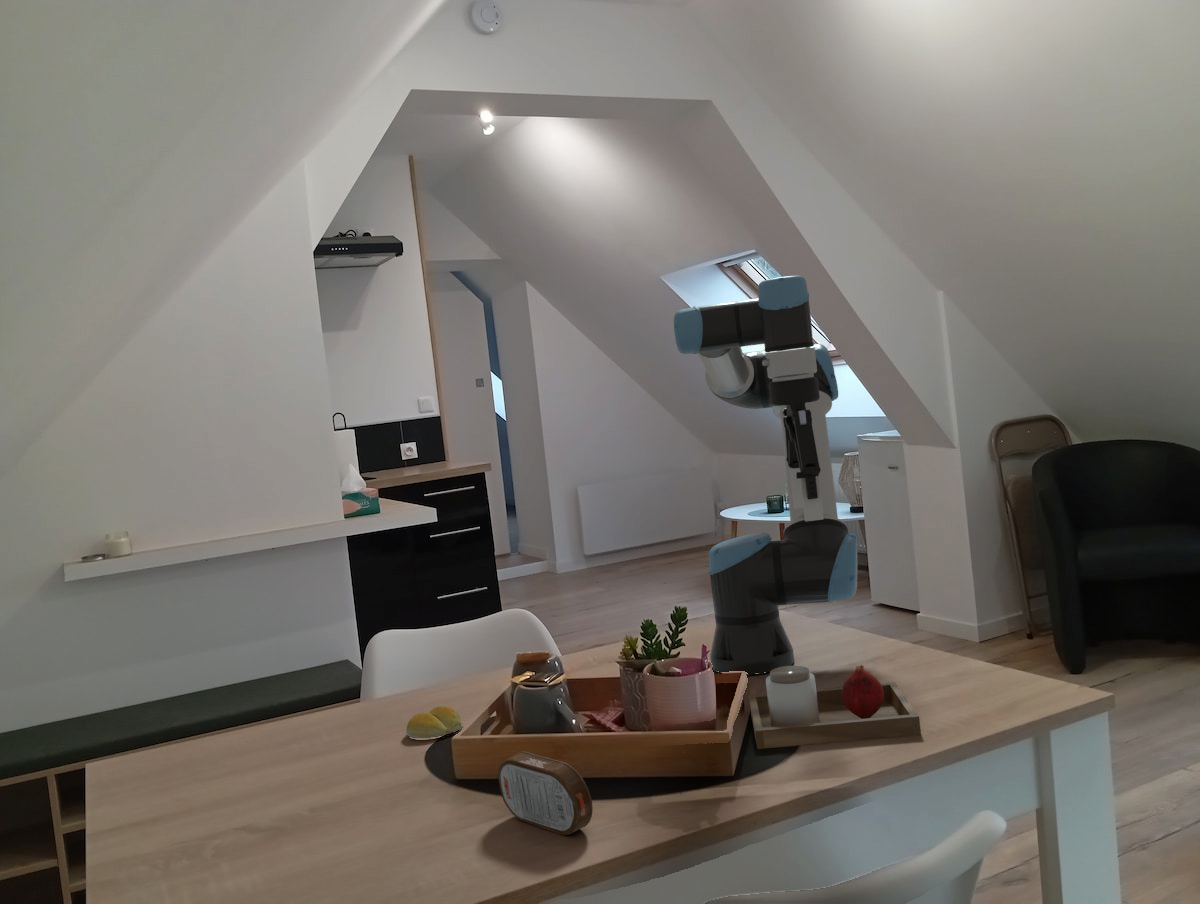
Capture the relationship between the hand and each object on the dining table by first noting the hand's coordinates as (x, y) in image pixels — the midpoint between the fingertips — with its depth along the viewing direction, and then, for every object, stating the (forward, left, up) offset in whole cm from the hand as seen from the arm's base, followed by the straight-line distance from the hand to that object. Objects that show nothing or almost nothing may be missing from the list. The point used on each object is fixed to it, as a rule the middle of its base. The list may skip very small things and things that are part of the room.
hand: (808, 513), depth 155 cm
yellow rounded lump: (-2, -64, -30) cm, 71 cm away
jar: (+13, -7, -29) cm, 32 cm away
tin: (+38, -40, -30) cm, 63 cm away
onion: (+13, +3, -29) cm, 32 cm away
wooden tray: (+13, -2, -30) cm, 32 cm away
